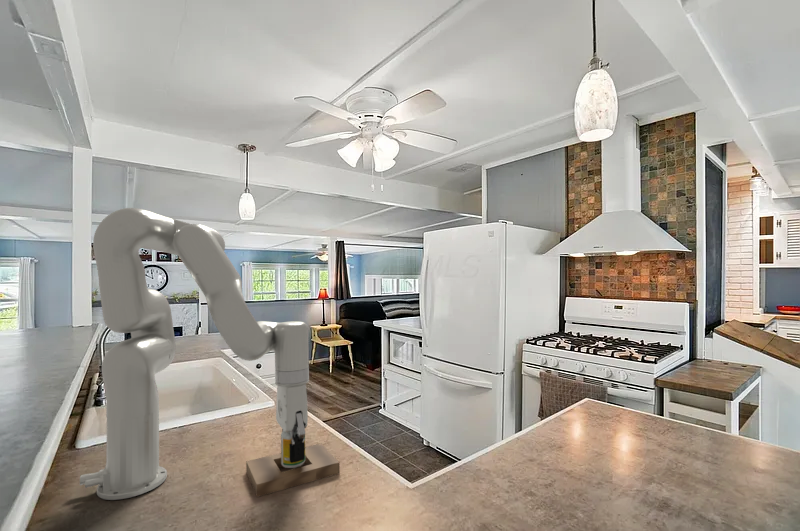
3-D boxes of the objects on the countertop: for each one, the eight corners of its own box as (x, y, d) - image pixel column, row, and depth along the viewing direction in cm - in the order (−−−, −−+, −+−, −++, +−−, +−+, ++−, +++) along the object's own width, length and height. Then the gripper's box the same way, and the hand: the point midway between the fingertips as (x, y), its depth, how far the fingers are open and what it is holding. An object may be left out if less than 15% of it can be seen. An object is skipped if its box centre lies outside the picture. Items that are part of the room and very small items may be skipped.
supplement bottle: (277, 462, 91) (276, 420, 91) (299, 455, 94) (298, 415, 94) (287, 471, 87) (286, 427, 87) (309, 463, 90) (308, 421, 90)
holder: (256, 497, 80) (256, 484, 81) (246, 472, 91) (246, 461, 91) (339, 473, 90) (339, 462, 90) (321, 453, 100) (321, 443, 100)
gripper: (267, 370, 96) (267, 446, 96) (285, 387, 82) (286, 476, 81) (297, 366, 100) (298, 438, 100) (320, 381, 85) (321, 466, 85)
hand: (293, 454), depth 90 cm, fingers closed on supplement bottle, 5 cm apart
